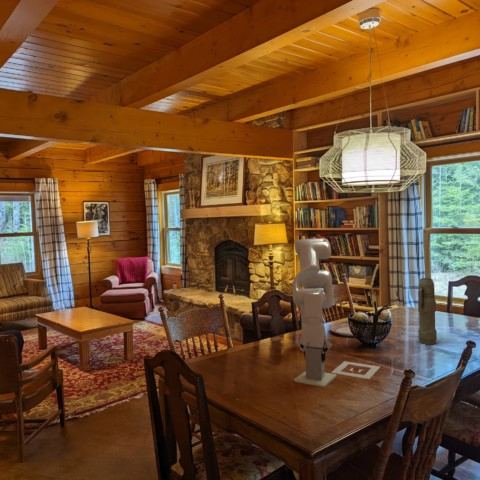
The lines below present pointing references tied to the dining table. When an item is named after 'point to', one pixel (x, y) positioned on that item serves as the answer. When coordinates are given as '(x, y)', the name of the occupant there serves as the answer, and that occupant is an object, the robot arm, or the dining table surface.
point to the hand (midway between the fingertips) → (314, 360)
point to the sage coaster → (326, 380)
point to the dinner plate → (341, 329)
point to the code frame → (366, 376)
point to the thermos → (427, 312)
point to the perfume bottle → (314, 363)
